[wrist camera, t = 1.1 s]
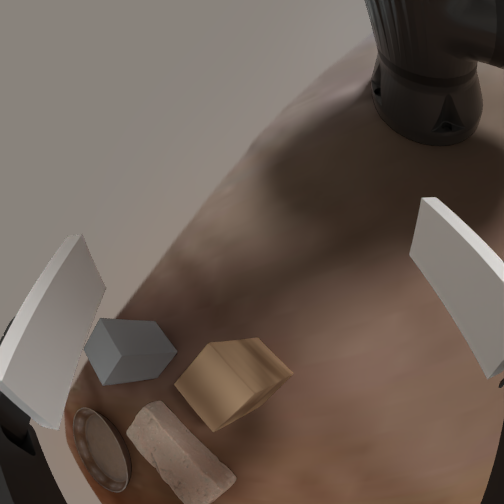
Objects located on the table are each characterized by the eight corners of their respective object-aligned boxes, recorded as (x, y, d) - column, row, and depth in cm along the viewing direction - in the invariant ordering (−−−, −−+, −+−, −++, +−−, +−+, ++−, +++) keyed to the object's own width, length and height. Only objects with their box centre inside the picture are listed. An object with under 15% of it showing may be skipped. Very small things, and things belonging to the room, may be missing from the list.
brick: (141, 427, 39) (120, 433, 35) (162, 396, 38) (139, 402, 34) (212, 502, 31) (194, 515, 27) (242, 477, 31) (224, 492, 27)
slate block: (155, 321, 41) (100, 317, 32) (177, 351, 38) (121, 356, 30) (136, 347, 42) (83, 348, 33) (157, 377, 39) (102, 385, 30)
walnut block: (257, 337, 34) (208, 342, 25) (293, 373, 31) (254, 393, 22) (227, 371, 35) (173, 384, 26) (260, 406, 32) (213, 432, 23)
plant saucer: (80, 449, 46) (70, 451, 43) (87, 388, 46) (75, 389, 44) (133, 503, 37) (122, 508, 34) (147, 444, 38) (133, 449, 35)
